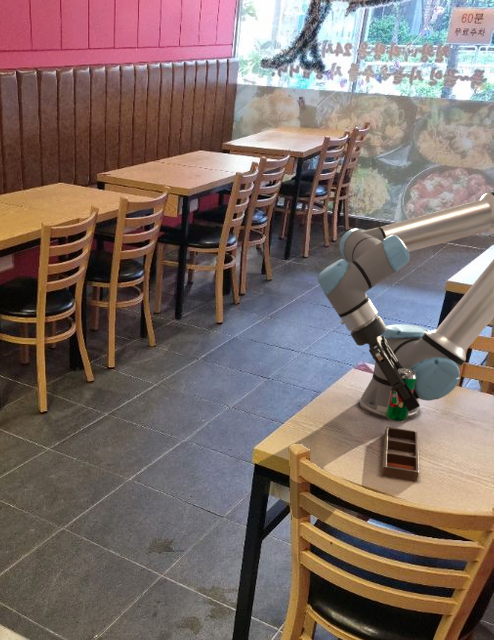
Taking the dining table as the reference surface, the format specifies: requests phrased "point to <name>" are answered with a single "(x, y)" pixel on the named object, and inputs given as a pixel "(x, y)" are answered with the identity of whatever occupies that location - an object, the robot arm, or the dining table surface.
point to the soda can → (395, 404)
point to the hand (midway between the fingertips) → (413, 403)
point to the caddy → (400, 455)
